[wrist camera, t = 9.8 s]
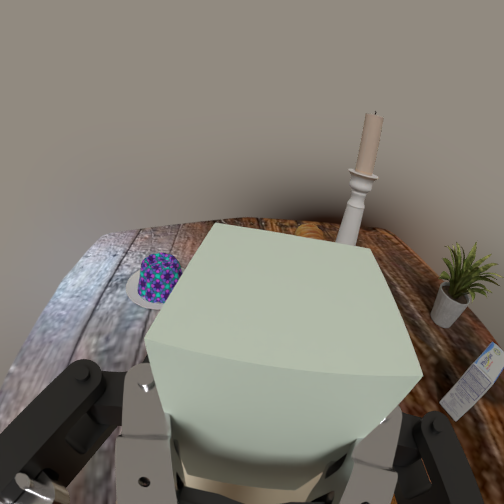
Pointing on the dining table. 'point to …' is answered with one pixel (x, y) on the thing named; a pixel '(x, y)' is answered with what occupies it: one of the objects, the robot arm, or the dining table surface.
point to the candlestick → (361, 180)
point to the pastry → (309, 231)
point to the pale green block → (277, 356)
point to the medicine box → (474, 382)
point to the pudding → (154, 280)
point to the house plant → (459, 287)
